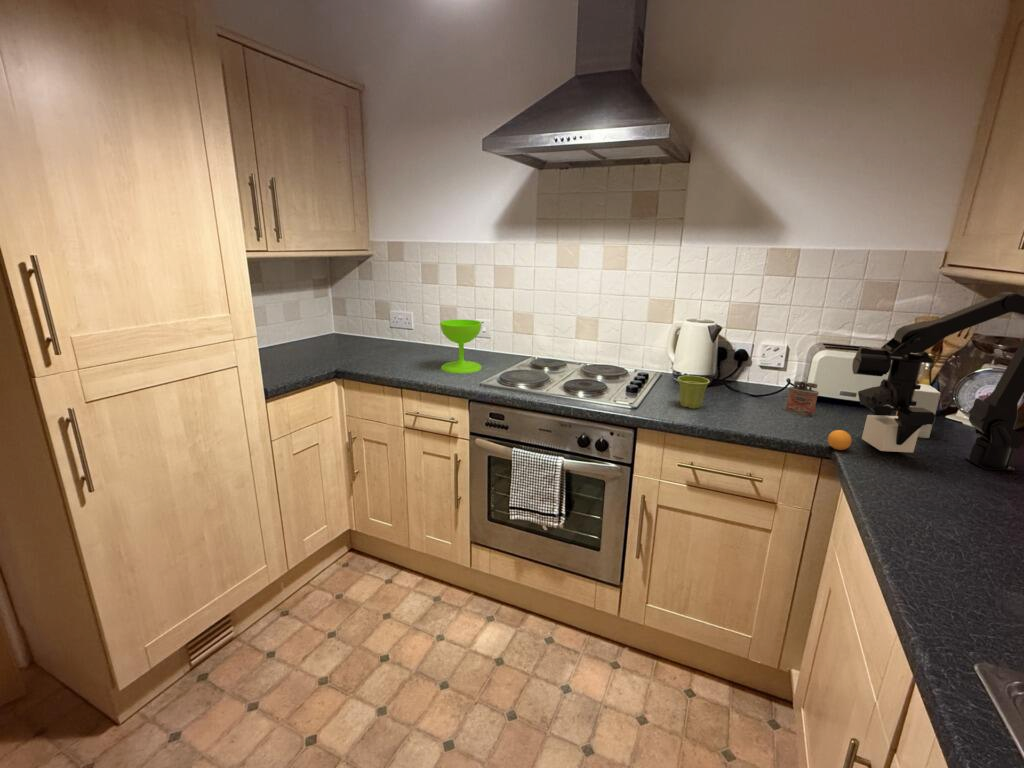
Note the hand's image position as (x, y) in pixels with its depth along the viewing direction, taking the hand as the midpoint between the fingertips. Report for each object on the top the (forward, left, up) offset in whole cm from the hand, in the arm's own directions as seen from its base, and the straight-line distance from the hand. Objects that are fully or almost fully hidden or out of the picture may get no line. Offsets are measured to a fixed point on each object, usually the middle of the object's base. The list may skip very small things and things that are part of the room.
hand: (887, 438), depth 126 cm
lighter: (+8, -28, -4) cm, 29 cm away
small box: (-16, -15, -4) cm, 22 cm away
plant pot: (+40, -31, -4) cm, 51 cm away
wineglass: (+119, -68, -4) cm, 137 cm away
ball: (+11, 0, -1) cm, 12 cm away
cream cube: (0, 0, -2) cm, 2 cm away
